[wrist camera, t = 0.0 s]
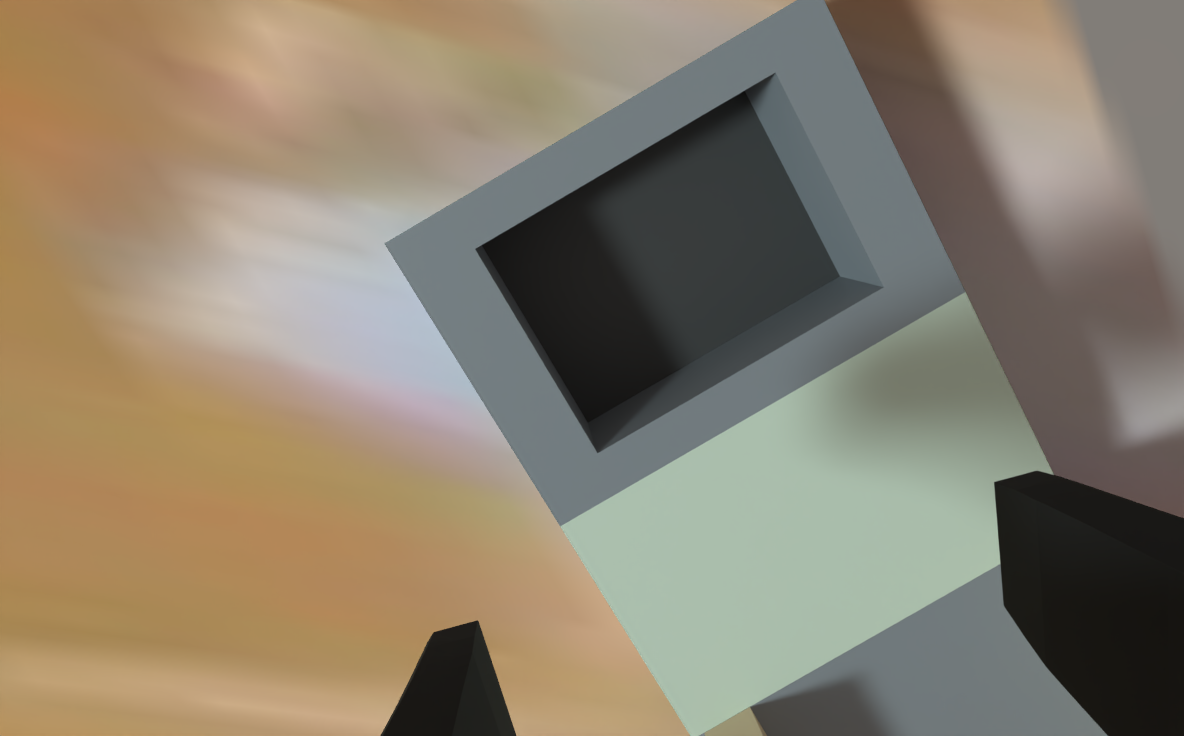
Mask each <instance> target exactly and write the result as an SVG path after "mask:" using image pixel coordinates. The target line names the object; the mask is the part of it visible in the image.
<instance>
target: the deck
mask: <svg viewBox="0 0 1184 736" xmlns="http://www.w3.org/2000/svg"><path fill="white" fill-rule="evenodd" d="M385 245H386V247H387V248H388V250H389V252H390V253H391V255H392V256H393V258H394V260H395V261H396V263H397V265H398V266H399V268H400V269H401V271H402V273H403V274H404V276H405V277H406V279H407V281H408V282H409V284H410V285H411V287H412V289H413V290H414V292H415V293H416V295H417V297H418V298H419V300H420V302H421V303H422V305H423V306H424V308H425V310H426V311H427V313H428V314H429V316H430V318H431V319H432V321H433V322H434V324H435V326H436V327H437V329H438V330H439V332H440V334H441V335H442V337H443V339H444V340H445V342H446V343H447V345H448V347H449V348H450V350H451V351H452V353H453V355H454V356H455V358H456V359H457V361H458V363H459V364H460V366H461V367H462V369H463V371H464V372H465V374H466V375H467V377H468V379H469V380H470V382H471V384H472V385H473V387H474V388H475V390H476V392H477V393H478V395H479V396H480V398H481V400H482V401H483V403H484V404H485V406H486V408H487V409H488V411H489V412H490V414H491V416H492V417H493V419H494V421H495V422H496V424H497V425H498V427H499V429H500V430H501V432H502V433H503V435H504V437H505V438H506V440H507V441H508V443H509V445H510V446H511V448H512V449H513V451H514V453H515V454H516V456H517V458H518V459H519V461H520V462H521V464H522V466H523V467H524V469H525V470H526V472H527V474H528V475H529V477H530V478H531V480H532V482H533V483H534V485H535V486H536V488H537V490H538V491H539V493H540V494H541V496H542V498H543V499H544V501H545V503H546V504H547V506H548V507H549V509H550V511H551V512H552V514H553V515H554V517H555V519H556V520H557V522H558V523H559V525H560V526H562V525H564V524H565V523H567V522H569V521H570V520H572V519H574V518H576V517H577V516H579V515H581V514H583V513H584V512H586V511H588V510H589V509H591V508H593V507H595V506H596V505H598V504H600V503H602V502H603V501H605V500H607V499H609V498H610V497H612V496H614V495H615V494H617V493H619V492H621V491H622V490H624V489H626V488H628V487H629V486H631V485H633V484H634V483H636V482H638V481H640V480H641V479H643V478H645V477H647V476H648V475H650V474H652V473H653V472H655V471H657V470H659V469H660V468H662V467H664V466H666V465H667V464H669V463H671V462H672V461H674V460H676V459H678V458H679V457H681V456H683V455H685V454H686V453H688V452H690V451H691V450H693V449H695V448H697V447H698V446H700V445H702V444H704V443H705V442H707V441H709V440H710V439H712V438H714V437H716V436H717V435H719V434H721V433H723V432H724V431H726V430H728V429H729V428H731V427H733V426H735V425H736V424H738V423H740V422H742V421H743V420H745V419H747V418H748V417H750V416H752V415H754V414H755V413H757V412H759V411H761V410H762V409H764V408H766V407H767V406H769V405H771V404H773V403H774V402H776V401H778V400H780V399H781V398H783V397H785V396H787V395H788V394H790V393H792V392H793V391H795V390H797V389H799V388H800V387H802V386H804V385H806V384H807V383H809V382H811V381H812V380H814V379H816V378H818V377H819V376H821V375H823V374H825V373H826V372H828V371H830V370H831V369H833V368H835V367H837V366H838V365H840V364H842V363H844V362H845V361H847V360H849V359H850V358H852V357H854V356H856V355H857V354H859V353H861V352H863V351H864V350H866V349H868V348H869V347H871V346H873V345H875V344H876V343H878V342H880V341H882V340H883V339H885V338H887V337H888V336H890V335H892V334H894V333H895V332H897V331H899V330H901V329H902V328H904V327H906V326H907V325H909V324H911V323H913V322H914V321H916V320H918V319H920V318H921V317H923V316H925V315H926V314H928V313H930V312H932V311H933V310H935V309H937V308H939V307H940V306H942V305H944V304H946V303H947V302H949V301H951V300H952V299H954V298H956V297H958V296H959V295H961V294H963V293H965V290H964V288H963V286H962V284H961V282H960V280H959V278H958V276H957V273H956V271H955V269H954V267H953V265H952V263H951V261H950V259H949V257H948V255H947V253H946V251H945V249H944V247H943V245H942V243H941V240H940V238H939V236H938V234H937V232H936V230H935V228H934V226H933V224H932V222H931V220H930V218H929V216H928V214H927V212H926V209H925V207H924V205H923V203H922V201H921V199H920V197H919V195H918V193H917V191H916V189H915V187H914V185H913V183H912V181H911V179H910V176H909V174H908V172H907V170H906V168H905V166H904V164H903V162H902V160H901V158H900V156H899V154H898V152H897V150H896V148H895V145H894V143H893V141H892V139H891V137H890V135H889V133H888V131H887V129H886V127H885V125H884V123H883V121H882V119H881V117H880V115H879V112H878V110H877V108H876V106H875V104H874V102H873V100H872V98H871V96H870V94H869V92H868V90H867V88H866V86H865V84H864V81H863V79H862V77H861V75H860V73H859V71H858V69H857V67H856V65H855V63H854V61H853V59H852V57H851V55H850V53H849V51H848V48H847V46H846V44H845V42H844V40H843V38H842V36H841V34H840V32H839V30H838V28H837V26H836V24H835V22H834V20H833V18H832V15H831V13H830V11H829V9H828V7H827V5H826V3H825V1H824V0H797V1H795V2H793V3H792V4H790V5H788V6H786V7H785V8H783V9H781V10H780V11H778V12H776V13H775V14H773V15H771V16H770V17H768V18H766V19H764V20H763V21H761V22H759V23H758V24H756V25H754V26H753V27H751V28H749V29H747V30H746V31H744V32H742V33H741V34H739V35H737V36H736V37H734V38H732V39H731V40H729V41H727V42H725V43H724V44H722V45H720V46H719V47H717V48H715V49H714V50H712V51H710V52H708V53H707V54H705V55H703V56H702V57H700V58H698V59H697V60H695V61H693V62H692V63H690V64H688V65H686V66H685V67H683V68H681V69H680V70H678V71H676V72H675V73H673V74H671V75H669V76H668V77H666V78H664V79H663V80H661V81H659V82H658V83H656V84H654V85H653V86H651V87H649V88H647V89H646V90H644V91H642V92H641V93H639V94H637V95H636V96H634V97H632V98H630V99H629V100H627V101H625V102H624V103H622V104H620V105H619V106H617V107H615V108H613V109H612V110H610V111H608V112H607V113H605V114H603V115H602V116H600V117H598V118H597V119H595V120H593V121H591V122H590V123H588V124H586V125H585V126H583V127H581V128H580V129H578V130H576V131H574V132H573V133H571V134H569V135H568V136H566V137H564V138H563V139H561V140H559V141H558V142H556V143H554V144H552V145H551V146H549V147H547V148H546V149H544V150H542V151H541V152H539V153H537V154H535V155H534V156H532V157H530V158H529V159H527V160H525V161H524V162H522V163H520V164H519V165H517V166H515V167H513V168H512V169H510V170H508V171H507V172H505V173H503V174H502V175H500V176H498V177H496V178H495V179H493V180H491V181H490V182H488V183H486V184H485V185H483V186H481V187H479V188H478V189H476V190H474V191H473V192H471V193H469V194H468V195H466V196H464V197H463V198H461V199H459V200H457V201H456V202H454V203H452V204H451V205H449V206H447V207H446V208H444V209H442V210H440V211H439V212H437V213H435V214H434V215H432V216H430V217H429V218H427V219H425V220H424V221H422V222H420V223H418V224H417V225H415V226H413V227H412V228H410V229H408V230H407V231H405V232H403V233H401V234H400V235H398V236H396V237H395V238H393V239H391V240H390V241H388V242H386V243H385ZM699 736H1108V735H1107V734H1106V733H1105V732H1104V731H1103V730H1102V729H1101V728H1100V727H1099V725H1098V724H1097V723H1096V722H1095V721H1094V720H1093V719H1092V718H1091V717H1090V716H1089V715H1088V713H1087V712H1086V711H1085V710H1084V709H1083V708H1082V707H1081V706H1080V705H1079V703H1078V702H1077V701H1076V700H1075V699H1074V698H1073V697H1072V696H1071V695H1070V693H1069V692H1068V691H1067V690H1066V689H1065V688H1064V687H1063V686H1062V685H1061V683H1060V682H1059V681H1058V680H1057V679H1056V678H1055V677H1054V675H1053V674H1052V673H1051V672H1050V671H1049V670H1048V669H1047V667H1046V666H1045V665H1044V663H1043V662H1042V661H1041V659H1040V658H1039V656H1038V655H1037V654H1036V652H1035V651H1034V649H1033V648H1032V647H1031V645H1030V644H1029V642H1028V641H1027V640H1026V638H1025V637H1024V635H1023V634H1022V632H1021V631H1020V629H1019V628H1018V626H1017V625H1016V623H1015V622H1014V620H1013V619H1012V617H1011V616H1010V614H1009V613H1008V611H1007V610H1006V608H1005V607H1004V603H1003V590H1002V578H1001V565H1000V564H999V565H997V566H996V567H994V568H992V569H990V570H989V571H987V572H985V573H983V574H982V575H980V576H978V577H976V578H975V579H973V580H971V581H969V582H968V583H966V584H964V585H962V586H961V587H959V588H957V589H955V590H954V591H952V592H950V593H948V594H947V595H945V596H943V597H941V598H940V599H938V600H936V601H934V602H933V603H931V604H929V605H927V606H926V607H924V608H922V609H920V610H919V611H917V612H915V613H913V614H912V615H910V616H908V617H906V618H905V619H903V620H901V621H899V622H898V623H896V624H894V625H892V626H891V627H889V628H887V629H885V630H884V631H882V632H880V633H878V634H876V635H875V636H873V637H871V638H869V639H868V640H866V641H864V642H862V643H861V644H859V645H857V646H855V647H854V648H852V649H850V650H848V651H847V652H845V653H843V654H841V655H840V656H838V657H836V658H834V659H833V660H831V661H829V662H827V663H826V664H824V665H822V666H820V667H819V668H817V669H815V670H813V671H812V672H810V673H808V674H806V675H805V676H803V677H801V678H799V679H798V680H796V681H794V682H792V683H791V684H789V685H787V686H785V687H784V688H782V689H780V690H778V691H777V692H775V693H773V694H771V695H770V696H768V697H766V698H764V699H763V700H761V701H759V702H757V703H756V704H754V705H752V706H750V707H749V708H747V709H745V710H743V711H742V712H740V713H738V714H736V715H735V716H733V717H731V718H729V719H727V720H726V721H724V722H722V723H720V724H719V725H717V726H715V727H713V728H712V729H710V730H708V731H706V732H705V733H703V734H701V735H699Z"/></svg>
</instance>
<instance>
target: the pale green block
mask: <svg viewBox="0 0 1184 736" xmlns="http://www.w3.org/2000/svg"><path fill="white" fill-rule="evenodd" d="M1033 471H1041V472H1045V473H1048V474H1052V475H1054V474H1053V472H1052V470H1051V468H1050V466H1049V463H1048V461H1047V459H1046V457H1045V455H1044V453H1043V451H1042V449H1041V447H1040V445H1039V443H1038V441H1037V439H1036V437H1035V435H1034V433H1033V430H1032V428H1031V426H1030V424H1029V422H1028V420H1027V418H1026V416H1025V414H1024V412H1023V410H1022V408H1021V406H1020V404H1019V402H1018V399H1017V397H1016V395H1015V393H1014V391H1013V389H1012V387H1011V385H1010V383H1009V381H1008V379H1007V377H1006V375H1005V373H1004V371H1003V369H1002V366H1001V364H1000V362H999V360H998V358H997V356H996V354H995V352H994V350H993V348H992V346H991V344H990V342H989V340H988V338H987V335H986V333H985V331H984V329H983V327H982V325H981V323H980V321H979V319H978V317H977V315H976V313H975V311H974V309H973V307H972V305H971V302H970V300H969V298H968V296H967V294H966V292H965V293H963V294H961V295H959V296H958V297H956V298H954V299H952V300H951V301H949V302H947V303H946V304H944V305H942V306H940V307H939V308H937V309H935V310H933V311H932V312H930V313H928V314H926V315H925V316H923V317H921V318H920V319H918V320H916V321H914V322H913V323H911V324H909V325H907V326H906V327H904V328H902V329H901V330H899V331H897V332H895V333H894V334H892V335H890V336H888V337H887V338H885V339H883V340H882V341H880V342H878V343H876V344H875V345H873V346H871V347H869V348H868V349H866V350H864V351H863V352H861V353H859V354H857V355H856V356H854V357H852V358H850V359H849V360H847V361H845V362H844V363H842V364H840V365H838V366H837V367H835V368H833V369H831V370H830V371H828V372H826V373H825V374H823V375H821V376H819V377H818V378H816V379H814V380H812V381H811V382H809V383H807V384H806V385H804V386H802V387H800V388H799V389H797V390H795V391H793V392H792V393H790V394H788V395H787V396H785V397H783V398H781V399H780V400H778V401H776V402H774V403H773V404H771V405H769V406H767V407H766V408H764V409H762V410H761V411H759V412H757V413H755V414H754V415H752V416H750V417H748V418H747V419H745V420H743V421H742V422H740V423H738V424H736V425H735V426H733V427H731V428H729V429H728V430H726V431H724V432H723V433H721V434H719V435H717V436H716V437H714V438H712V439H710V440H709V441H707V442H705V443H704V444H702V445H700V446H698V447H697V448H695V449H693V450H691V451H690V452H688V453H686V454H685V455H683V456H681V457H679V458H678V459H676V460H674V461H672V462H671V463H669V464H667V465H666V466H664V467H662V468H660V469H659V470H657V471H655V472H653V473H652V474H650V475H648V476H647V477H645V478H643V479H641V480H640V481H638V482H636V483H634V484H633V485H631V486H629V487H628V488H626V489H624V490H622V491H621V492H619V493H617V494H615V495H614V496H612V497H610V498H609V499H607V500H605V501H603V502H602V503H600V504H598V505H596V506H595V507H593V508H591V509H589V510H588V511H586V512H584V513H583V514H581V515H579V516H577V517H576V518H574V519H572V520H570V521H569V522H567V523H565V524H564V525H562V526H560V527H561V528H562V530H563V532H564V533H565V535H566V536H567V538H568V540H569V541H570V543H571V544H572V546H573V548H574V549H575V551H576V552H577V554H578V556H579V557H580V559H581V560H582V562H583V564H584V565H585V567H586V569H587V570H588V572H589V573H590V575H591V577H592V578H593V580H594V581H595V583H596V585H597V586H598V588H599V589H600V591H601V593H602V594H603V596H604V597H605V599H606V601H607V602H608V604H609V606H610V607H611V609H612V610H613V612H614V614H615V615H616V617H617V618H618V620H619V622H620V623H621V625H622V626H623V628H624V630H625V631H626V633H627V634H628V636H629V638H630V639H631V641H632V642H633V644H634V646H635V647H636V649H637V651H638V652H639V654H640V655H641V657H642V659H643V660H644V662H645V663H646V665H647V667H648V668H649V670H650V671H651V673H652V675H653V676H654V678H655V679H656V681H657V683H658V684H659V686H660V688H661V689H662V691H663V692H664V694H665V696H666V697H667V699H668V700H669V702H670V704H671V705H672V707H673V708H674V710H675V712H676V713H677V715H678V716H679V718H680V720H681V721H682V723H683V724H684V726H685V728H686V729H687V731H688V733H689V734H690V736H699V735H701V734H703V733H705V732H706V731H708V730H710V729H712V728H713V727H715V726H717V725H719V724H720V723H722V722H724V721H726V720H727V719H729V718H731V717H733V716H735V715H736V714H738V713H740V712H742V711H743V710H745V709H747V708H749V707H750V706H752V705H754V704H756V703H757V702H759V701H761V700H763V699H764V698H766V697H768V696H770V695H771V694H773V693H775V692H777V691H778V690H780V689H782V688H784V687H785V686H787V685H789V684H791V683H792V682H794V681H796V680H798V679H799V678H801V677H803V676H805V675H806V674H808V673H810V672H812V671H813V670H815V669H817V668H819V667H820V666H822V665H824V664H826V663H827V662H829V661H831V660H833V659H834V658H836V657H838V656H840V655H841V654H843V653H845V652H847V651H848V650H850V649H852V648H854V647H855V646H857V645H859V644H861V643H862V642H864V641H866V640H868V639H869V638H871V637H873V636H875V635H876V634H878V633H880V632H882V631H884V630H885V629H887V628H889V627H891V626H892V625H894V624H896V623H898V622H899V621H901V620H903V619H905V618H906V617H908V616H910V615H912V614H913V613H915V612H917V611H919V610H920V609H922V608H924V607H926V606H927V605H929V604H931V603H933V602H934V601H936V600H938V599H940V598H941V597H943V596H945V595H947V594H948V593H950V592H952V591H954V590H955V589H957V588H959V587H961V586H962V585H964V584H966V583H968V582H969V581H971V580H973V579H975V578H976V577H978V576H980V575H982V574H983V573H985V572H987V571H989V570H990V569H992V568H994V567H996V566H997V565H999V564H1000V552H999V540H998V527H997V514H996V502H995V489H994V482H996V481H1000V480H1003V479H1007V478H1011V477H1015V476H1018V475H1022V474H1026V473H1030V472H1033Z"/></svg>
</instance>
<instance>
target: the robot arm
mask: <svg viewBox="0 0 1184 736" xmlns="http://www.w3.org/2000/svg"><path fill="white" fill-rule="evenodd" d="M994 489H995V502H996V514H997V527H998V540H999V552H1000V565H1001V578H1002V590H1003V603H1004V607H1005V608H1006V610H1007V611H1008V613H1009V614H1010V616H1011V617H1012V619H1013V620H1014V622H1015V623H1016V625H1017V626H1018V628H1019V629H1020V631H1021V632H1022V634H1023V635H1024V637H1025V638H1026V640H1027V641H1028V642H1029V644H1030V645H1031V647H1032V648H1033V649H1034V651H1035V652H1036V654H1037V655H1038V656H1039V658H1040V659H1041V661H1042V662H1043V663H1044V665H1045V666H1046V667H1047V669H1048V670H1049V671H1050V672H1051V673H1052V674H1053V675H1054V677H1055V678H1056V679H1057V680H1058V681H1059V682H1060V683H1061V685H1062V686H1063V687H1064V688H1065V689H1066V690H1067V691H1068V692H1069V693H1070V695H1071V696H1072V697H1073V698H1074V699H1075V700H1076V701H1077V702H1078V703H1079V705H1080V706H1081V707H1082V708H1083V709H1084V710H1085V711H1086V712H1087V713H1088V715H1089V716H1090V717H1091V718H1092V719H1093V720H1094V721H1095V722H1096V723H1097V724H1098V725H1099V727H1100V728H1101V729H1102V730H1103V731H1104V732H1105V733H1106V734H1107V735H1108V736H1184V518H1181V517H1178V516H1175V515H1172V514H1169V513H1166V512H1163V511H1160V510H1157V509H1154V508H1151V507H1148V506H1145V505H1142V504H1139V503H1136V502H1133V501H1131V500H1128V499H1125V498H1122V497H1119V496H1116V495H1113V494H1110V493H1107V492H1104V491H1101V490H1099V489H1096V488H1093V487H1090V486H1087V485H1084V484H1081V483H1078V482H1075V481H1072V480H1068V479H1065V478H1062V477H1059V476H1055V475H1052V474H1048V473H1045V472H1041V471H1033V472H1030V473H1026V474H1022V475H1018V476H1015V477H1011V478H1007V479H1003V480H1000V481H996V482H994ZM381 736H516V733H515V730H514V727H513V724H512V721H511V718H510V715H509V712H508V709H507V706H506V703H505V700H504V697H503V694H502V691H501V688H500V685H499V682H498V679H497V676H496V673H495V670H494V667H493V664H492V661H491V658H490V655H489V652H488V649H487V646H486V643H485V640H484V637H483V634H482V631H481V628H480V625H479V622H478V621H474V622H470V623H467V624H463V625H459V626H455V627H452V628H448V629H444V630H441V631H437V632H434V633H433V634H432V636H431V638H430V639H429V641H428V642H427V645H426V647H425V649H424V651H423V653H422V655H421V657H420V659H419V661H418V663H417V665H416V668H415V670H414V672H413V674H412V676H411V678H410V680H409V682H408V684H407V686H406V688H405V690H404V692H403V694H402V696H401V698H400V700H399V702H398V704H397V706H396V708H395V710H394V712H393V714H392V715H391V717H390V719H389V721H388V723H387V725H386V727H385V728H384V730H383V732H382V734H381Z"/></svg>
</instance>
